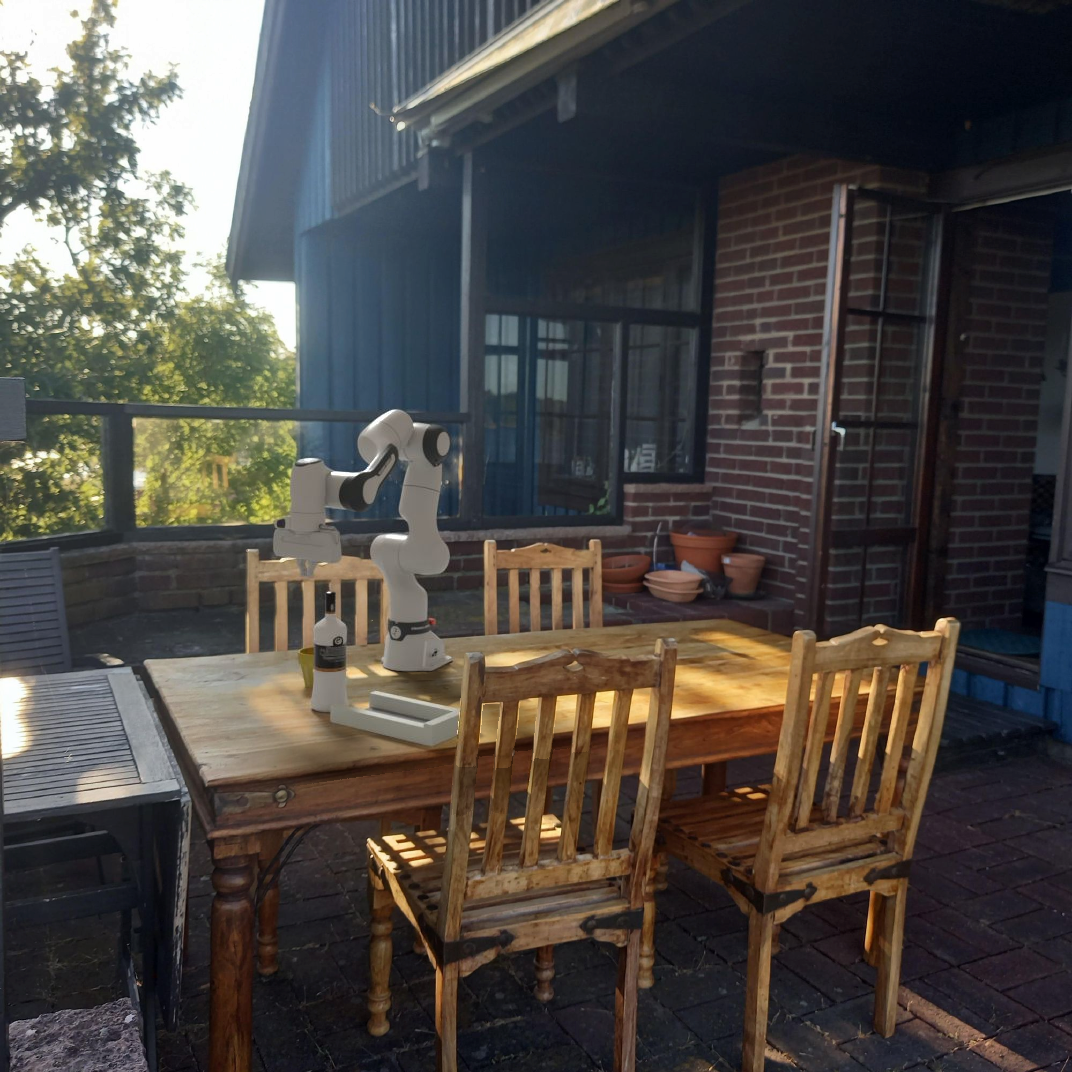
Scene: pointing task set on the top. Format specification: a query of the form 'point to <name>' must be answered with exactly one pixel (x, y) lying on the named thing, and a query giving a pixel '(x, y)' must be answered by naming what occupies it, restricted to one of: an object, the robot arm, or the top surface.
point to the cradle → (401, 718)
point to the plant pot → (307, 664)
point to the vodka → (329, 659)
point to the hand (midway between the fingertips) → (306, 577)
